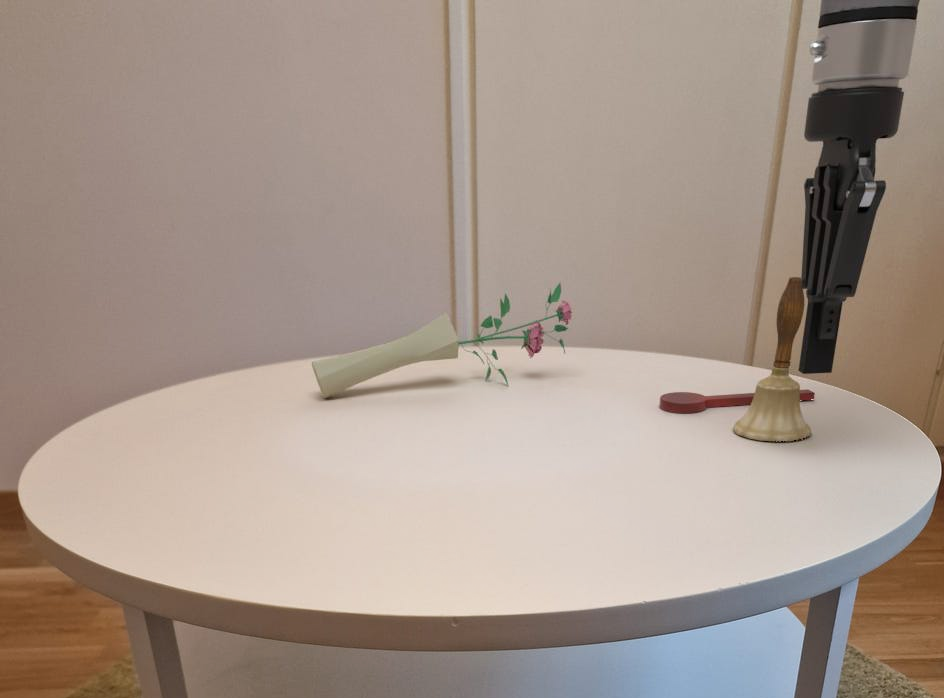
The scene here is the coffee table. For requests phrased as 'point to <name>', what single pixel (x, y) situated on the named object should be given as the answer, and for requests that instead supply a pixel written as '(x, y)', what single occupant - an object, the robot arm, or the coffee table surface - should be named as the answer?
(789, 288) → the hand bell
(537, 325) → the flower vase
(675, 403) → the spoon
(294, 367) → the coffee table surface
